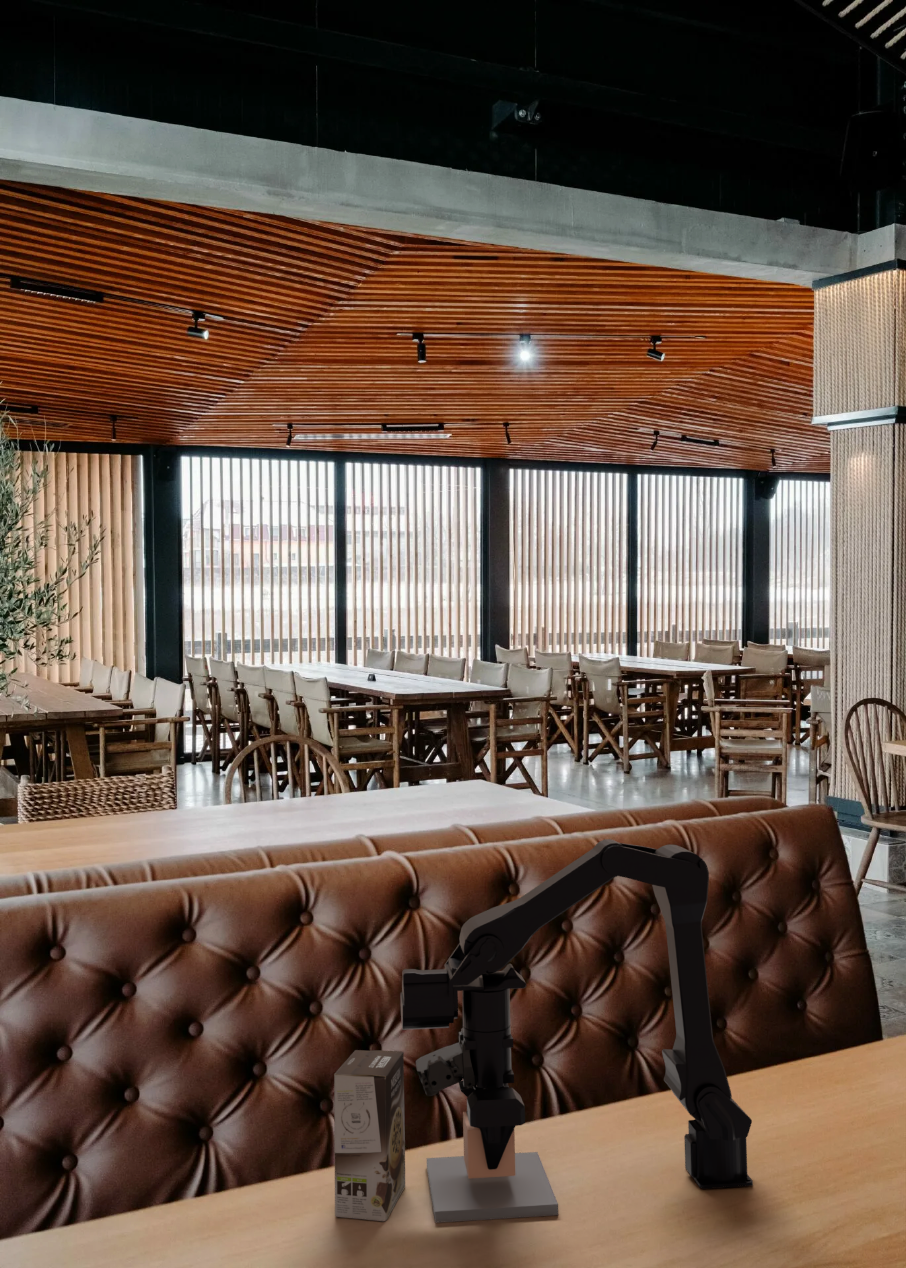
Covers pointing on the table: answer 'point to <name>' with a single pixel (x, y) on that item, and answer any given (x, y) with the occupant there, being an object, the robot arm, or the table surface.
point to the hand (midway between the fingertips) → (489, 1158)
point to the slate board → (489, 1191)
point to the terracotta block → (476, 1154)
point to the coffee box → (369, 1134)
